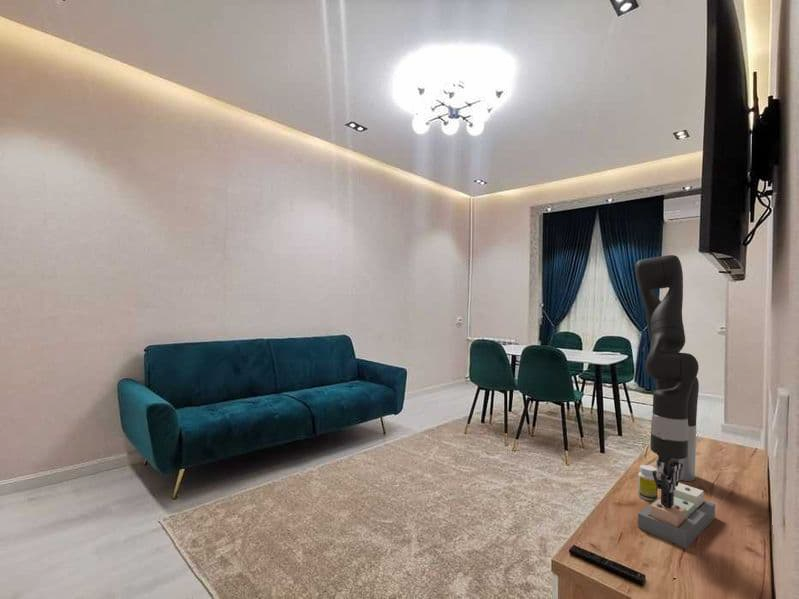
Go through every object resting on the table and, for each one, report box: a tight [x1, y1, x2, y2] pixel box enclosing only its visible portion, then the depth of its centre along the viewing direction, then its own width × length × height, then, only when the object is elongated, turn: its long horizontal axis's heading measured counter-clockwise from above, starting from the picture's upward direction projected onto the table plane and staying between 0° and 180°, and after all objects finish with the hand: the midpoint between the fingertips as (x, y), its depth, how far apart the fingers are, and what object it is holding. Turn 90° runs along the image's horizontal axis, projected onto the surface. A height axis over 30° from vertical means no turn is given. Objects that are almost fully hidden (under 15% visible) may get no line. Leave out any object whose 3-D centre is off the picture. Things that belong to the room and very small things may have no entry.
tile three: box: [650, 498, 686, 528], centre depth 96 cm, size 6×6×3 cm
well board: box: [637, 496, 716, 549], centre depth 100 cm, size 22×10×4 cm, turn 128°
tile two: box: [674, 497, 695, 518], centre depth 100 cm, size 6×6×3 cm
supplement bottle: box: [637, 464, 659, 502], centre depth 113 cm, size 5×5×8 cm
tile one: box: [674, 482, 705, 509], centre depth 104 cm, size 6×6×3 cm
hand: (667, 505), depth 96 cm, fingers closed
